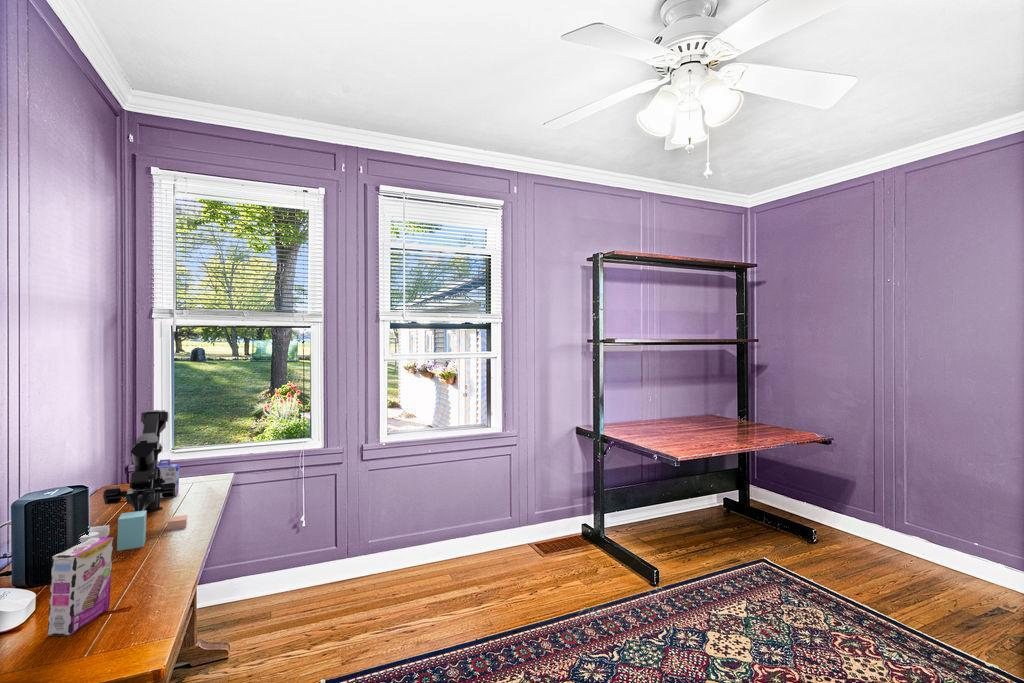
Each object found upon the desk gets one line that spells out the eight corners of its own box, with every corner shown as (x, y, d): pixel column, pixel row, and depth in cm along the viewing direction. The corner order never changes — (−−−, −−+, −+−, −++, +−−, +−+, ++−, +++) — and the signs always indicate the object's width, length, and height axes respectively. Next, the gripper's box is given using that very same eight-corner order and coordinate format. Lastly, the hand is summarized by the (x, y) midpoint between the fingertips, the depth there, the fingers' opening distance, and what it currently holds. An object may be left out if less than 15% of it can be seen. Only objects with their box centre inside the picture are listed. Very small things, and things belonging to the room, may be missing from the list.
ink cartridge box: (179, 493, 201) (180, 458, 201) (175, 497, 196) (177, 460, 196) (150, 495, 197) (151, 459, 198) (145, 499, 192) (147, 462, 192)
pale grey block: (88, 540, 151) (89, 527, 151) (109, 537, 154) (109, 524, 154) (83, 546, 147) (84, 532, 147) (105, 543, 149) (105, 530, 149)
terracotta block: (168, 529, 162) (169, 517, 162) (187, 527, 164) (187, 515, 164) (167, 534, 157) (167, 521, 157) (185, 531, 160) (186, 519, 160)
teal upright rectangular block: (120, 543, 146) (121, 513, 146) (145, 540, 149) (146, 510, 149) (116, 550, 140) (118, 519, 141) (142, 547, 144) (144, 516, 144)
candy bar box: (72, 636, 101) (75, 556, 102) (46, 637, 101) (49, 556, 101) (111, 608, 112) (114, 536, 113) (88, 608, 112) (91, 536, 112)
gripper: (105, 463, 155) (96, 509, 146) (176, 457, 165) (172, 500, 155) (109, 481, 162) (101, 526, 152) (177, 475, 171) (173, 517, 162)
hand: (137, 517), depth 155 cm, fingers closed
